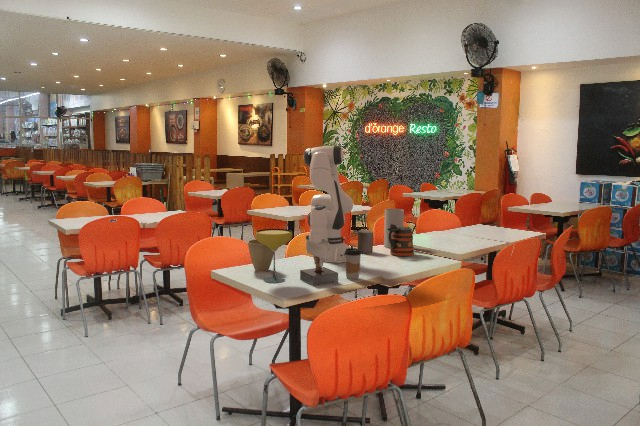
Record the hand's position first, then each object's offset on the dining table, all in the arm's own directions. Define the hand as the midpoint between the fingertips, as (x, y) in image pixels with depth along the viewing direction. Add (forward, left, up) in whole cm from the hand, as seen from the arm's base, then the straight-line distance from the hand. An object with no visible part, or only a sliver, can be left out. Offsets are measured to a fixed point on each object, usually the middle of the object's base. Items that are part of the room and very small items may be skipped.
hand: (318, 265), depth 265 cm
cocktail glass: (+19, -12, -8) cm, 24 cm away
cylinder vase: (-87, -54, -8) cm, 103 cm away
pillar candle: (-60, -48, -8) cm, 77 cm away
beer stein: (-75, -32, -8) cm, 82 cm away
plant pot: (+16, -35, -8) cm, 39 cm away
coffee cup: (-18, +3, -8) cm, 20 cm away
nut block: (0, 0, -8) cm, 8 cm away
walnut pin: (0, 0, -4) cm, 4 cm away
